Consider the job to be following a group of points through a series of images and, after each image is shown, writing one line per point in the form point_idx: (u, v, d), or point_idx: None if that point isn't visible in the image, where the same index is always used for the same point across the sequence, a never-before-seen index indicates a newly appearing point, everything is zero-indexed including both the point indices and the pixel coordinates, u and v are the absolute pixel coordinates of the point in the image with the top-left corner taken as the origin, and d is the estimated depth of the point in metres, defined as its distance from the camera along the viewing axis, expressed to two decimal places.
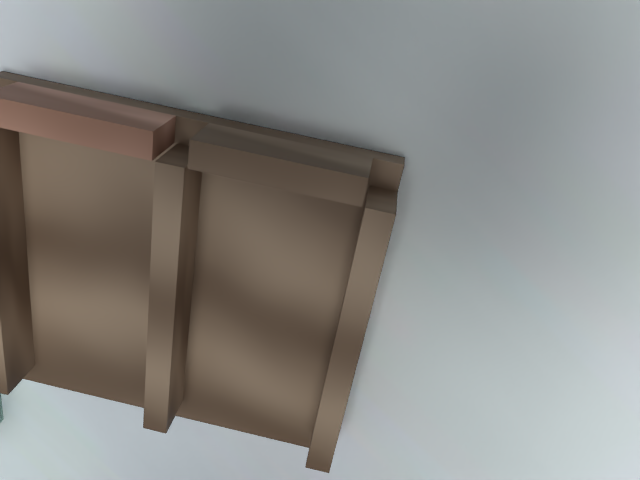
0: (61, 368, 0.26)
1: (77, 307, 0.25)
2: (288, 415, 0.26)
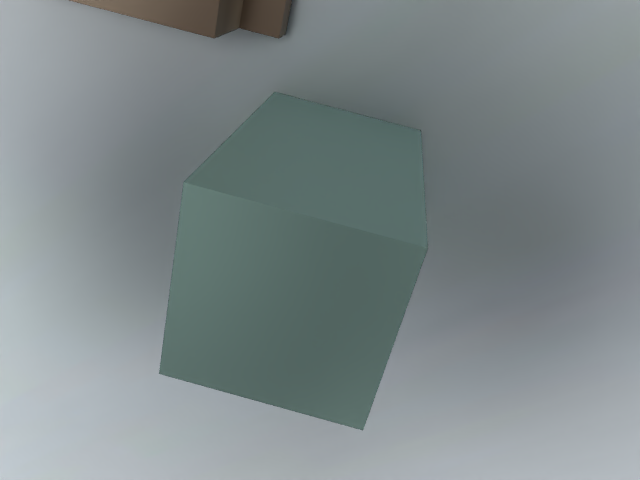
0: None
1: None
2: None
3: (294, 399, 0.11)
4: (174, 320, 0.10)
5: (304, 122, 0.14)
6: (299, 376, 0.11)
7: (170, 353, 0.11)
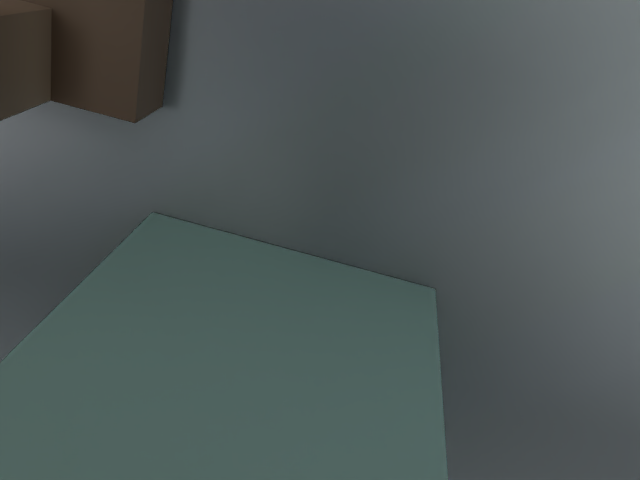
0: None
1: None
2: None
3: None
4: None
5: (179, 319, 0.06)
6: None
7: None
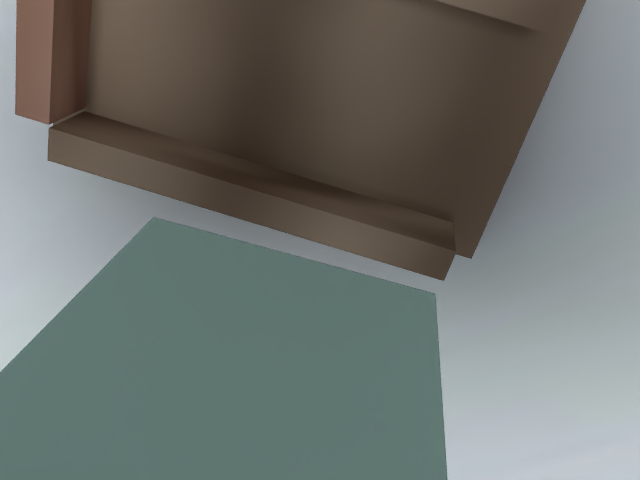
0: (461, 183, 0.17)
1: (354, 122, 0.17)
2: None
3: None
4: None
5: (181, 325, 0.06)
6: None
7: None
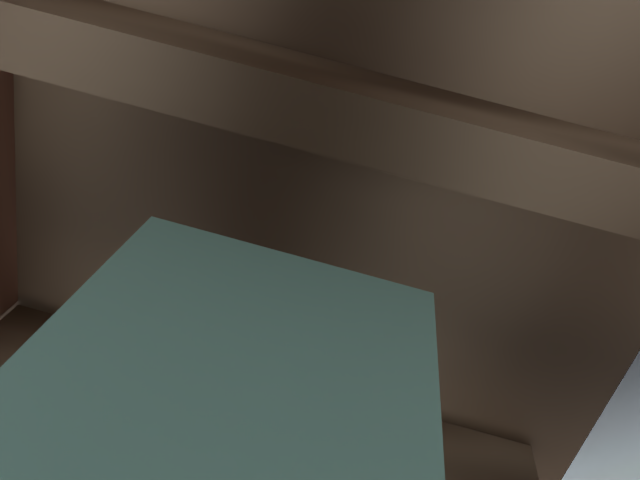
0: (545, 401, 0.12)
1: None
2: None
3: None
4: None
5: (178, 324, 0.06)
6: None
7: None
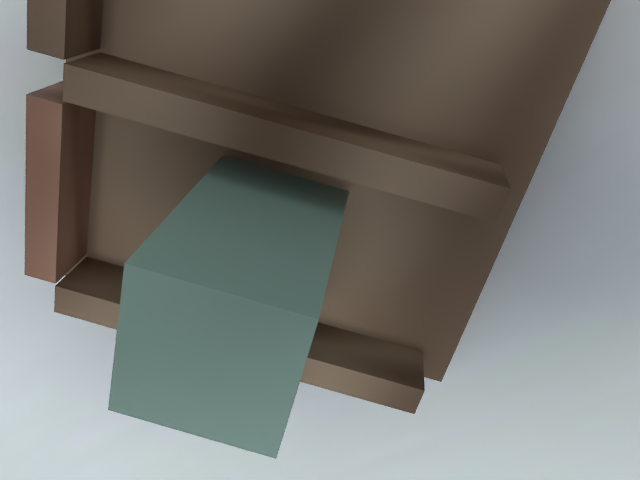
0: (429, 320, 0.19)
1: (331, 270, 0.19)
2: None
3: (219, 432, 0.13)
4: (119, 368, 0.13)
5: (242, 190, 0.16)
6: (222, 414, 0.13)
7: (117, 393, 0.13)
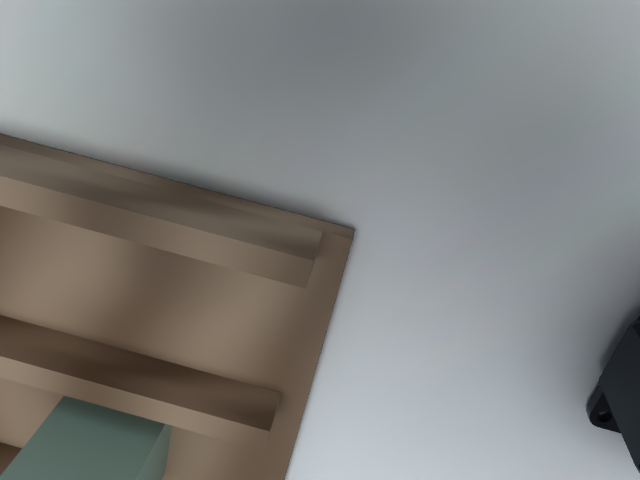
0: None
1: (171, 455, 0.24)
2: None
3: None
4: None
5: (79, 423, 0.21)
6: None
7: None
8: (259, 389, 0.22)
